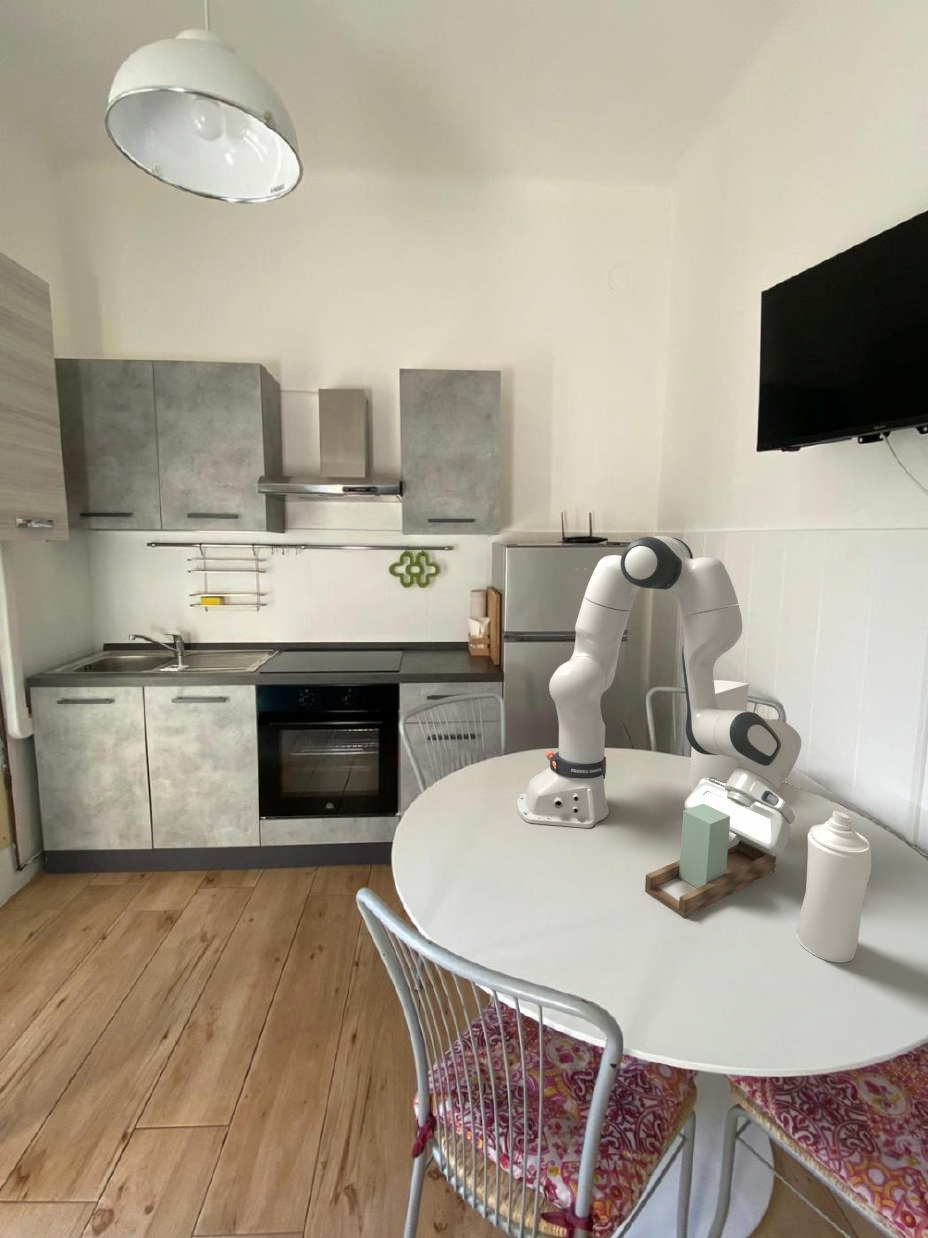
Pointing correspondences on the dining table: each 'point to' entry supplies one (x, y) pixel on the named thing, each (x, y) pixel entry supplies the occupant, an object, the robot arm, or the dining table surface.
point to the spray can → (834, 889)
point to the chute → (688, 899)
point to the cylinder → (719, 766)
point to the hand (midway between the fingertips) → (715, 851)
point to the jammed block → (703, 845)
